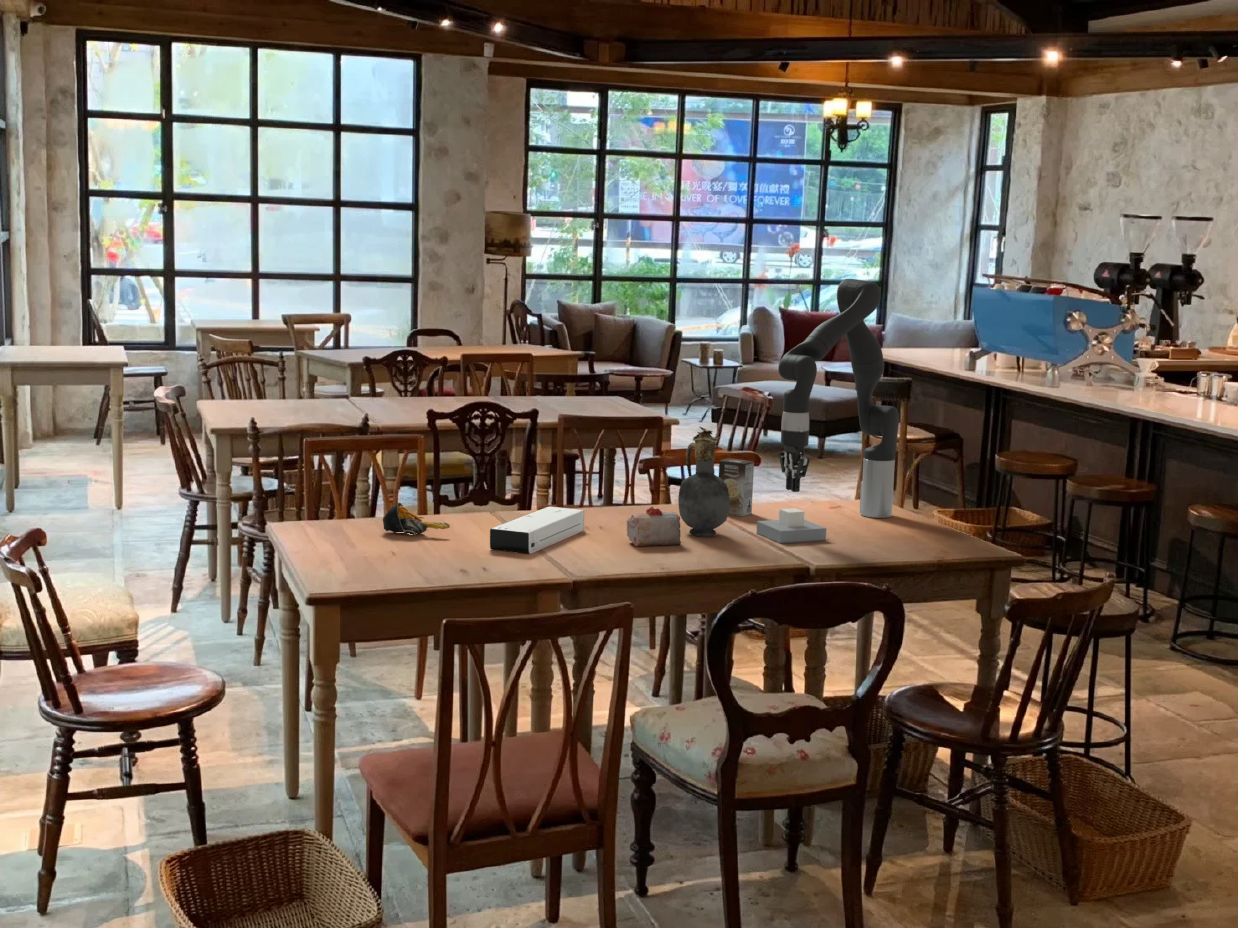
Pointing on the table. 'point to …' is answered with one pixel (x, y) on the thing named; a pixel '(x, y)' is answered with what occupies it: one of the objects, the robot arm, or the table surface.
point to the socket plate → (791, 532)
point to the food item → (654, 528)
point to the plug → (791, 517)
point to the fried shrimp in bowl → (407, 521)
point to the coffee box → (738, 484)
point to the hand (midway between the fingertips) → (792, 490)
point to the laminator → (537, 530)
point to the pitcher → (703, 489)
